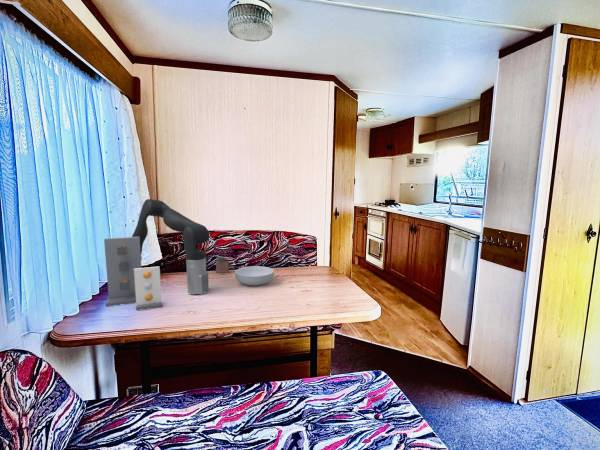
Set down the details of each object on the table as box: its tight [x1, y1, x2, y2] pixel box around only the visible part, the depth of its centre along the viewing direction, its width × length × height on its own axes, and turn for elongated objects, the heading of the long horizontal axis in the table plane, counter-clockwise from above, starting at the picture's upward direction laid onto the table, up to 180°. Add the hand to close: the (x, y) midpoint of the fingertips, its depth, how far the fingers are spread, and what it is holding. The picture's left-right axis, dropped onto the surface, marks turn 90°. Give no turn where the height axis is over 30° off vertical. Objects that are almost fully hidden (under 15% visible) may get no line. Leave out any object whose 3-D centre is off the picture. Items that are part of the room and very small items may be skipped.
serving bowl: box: [234, 265, 275, 286], centre depth 176 cm, size 21×21×7 cm
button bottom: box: [120, 280, 129, 290], centre depth 150 cm, size 9×4×4 cm, turn 23°
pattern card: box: [134, 266, 163, 311], centre depth 142 cm, size 6×10×18 cm, turn 113°
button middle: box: [119, 262, 128, 271], centre depth 152 cm, size 9×4×4 cm, turn 23°
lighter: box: [215, 256, 230, 275], centre depth 194 cm, size 8×3×10 cm, turn 84°
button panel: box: [103, 236, 142, 307], centre depth 150 cm, size 14×15×29 cm
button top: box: [117, 246, 127, 255], centre depth 148 cm, size 9×4×4 cm, turn 23°
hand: (126, 262), depth 161 cm, fingers closed
